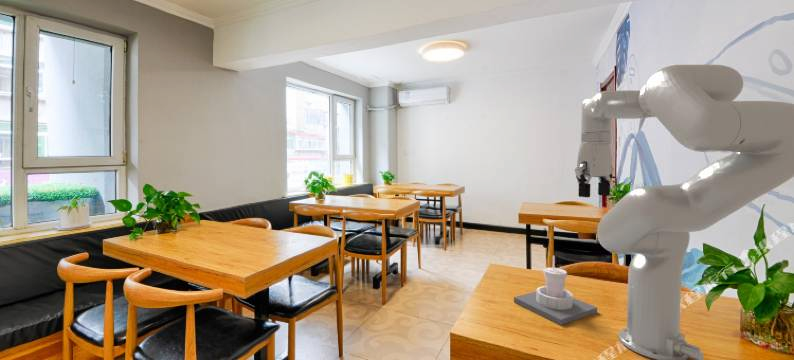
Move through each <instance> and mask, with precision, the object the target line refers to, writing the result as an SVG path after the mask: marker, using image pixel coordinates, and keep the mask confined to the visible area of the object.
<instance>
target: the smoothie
mask: <svg viewBox="0 0 794 360" xmlns="http://www.w3.org/2000/svg"><path fill="white" fill-rule="evenodd" d="M555 264H556V257H555V255H552V267H544V268H543V274H544V281H545V286H546V291H547V296H550V297H555V298H562V297H563V291H564V289H565V284H566V280H567V279H566V278H567V277H568V272H567V271H566V270H564V269H563V268H560V267H556V265H555Z"/></svg>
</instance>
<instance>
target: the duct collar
mask: <svg viewBox="0 0 794 360" xmlns="http://www.w3.org/2000/svg"><path fill="white" fill-rule="evenodd" d="M513 303H515V304H518V305H519V306H521V307H523V308H526V309H527V310H529V311H531V312H533V313H535V314H537V315H539V316H541V317H543V318H545V319H547V320H550V321H551V322H554V323H555V324H557V325H560V326H563V325H566V324H569V323H572V322H574V321H578V320H579V319H580V320H581V319H582V318H586V317H589V316H591V315H594V314H597V313H598V307H597V306H595V305H592V304H590V303H588V302H585V301H582V300H580V299H577V298H576V297H575V298H574V295H573V293H572V292H571V291H569V290H567V289H565V288H564V291H563V297H562V298H555V297H550V296H547V291H546V285H544V286H543V285H542V286H538V287H537V288H536V290H535V291H532V292H529V293H525V294H521V295H518V296H515V297H513Z"/></svg>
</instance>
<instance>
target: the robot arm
mask: <svg viewBox="0 0 794 360" xmlns="http://www.w3.org/2000/svg"><path fill="white" fill-rule="evenodd" d="M743 88H744V78H743V77H742V75H741V73H739V71H737V69H734V68H732V67H731V66H728V65H721V64H674V65H668V66H665V67H662V68H661V69H659V70H657V71H656V72H654V73H653V74H652V75H651V76H649V78H648V80H647V81H646V83H645V84H644V85H643V86H642V88H641V90H629V89H628V90H603V91H600V92H598V93H596V94H595V95H593V96H592V97H589V98H586V99H584V100H583V102H582V103H581V126H580V127H581V133H580V135H581V136H580V141H581V142H580V144H579V148H578V154H577V164H576V167H575V168H574V172H575V175H576V177H575V178H576V179H577V182H576V183H577V184H578V197H581V198H590V197H591V185H592V184H591V183H590V182H591V179H592V178H598V180H599V182H598V184H597V185H598V186H597V187H598V188H597V189H598V190H597V195H598V196H606V197H609V196H610V195H611V182H612V179H613V173H614V171H615V168H614V167H613V166H612V154H611V152H612V151H611V143H612V136H611V135H612V120H614V119H615V120H617V119H620V120H621V119H622V120H623V119H625V120H626V119H627V120H628V119H629V120H630V119H633V120H634V119H635V120H636V119H647V118H657V119H658V121H659V122H660V123H661V124H662V125H663V127H664V128H665V129H666V130H667V131H668V132H669V133H670V135H671V136H672V137H673V139H675V140H676V141H677V142H678V143H679V144H681V145H682V146H683V147H684V148H686V149H688V150H691V151H695V152H698V153H731V154H729V155H726V156H725V157H722V158H720V159H717V160H716V161H714V162H711V163H709V164H707V165H705V167H703V168H701V169H699V171H698V172H697V173H695V174H694V175H693V176H692V177H690V178H688V179H687V180H686V181H684V182H682V183H678V184H672V185H671V184H668V185H666V184H665V185H662V184H661V185H657V184H656V185H644V186H639V187H637V188H634V189H632V190H631V191H629V192H627V193H626V194H625V195H624V196H623V197H621V198H620V199H619V200H618V201H617V202H616V203H615V204H614V205H613V206H612V207H611V208H610V209H609V210H608V211H607V212H606V213H605V214H604V215H603V217H601V218H600V221H599V223H598V225H597V229H596V235H597V240H598V242H599V243H600V245H601V247H603V248H604V249H605V250H606V251H608V252H610V253H613V254H616V255H634V256H633V257H632V259H631V261H630V262H629V263H630V264H629V266H628V275H627V276H628V277H627V305H626V306H627V308H626V310H627V311H626V328H622V329H621V330H619V332H618V340H619V341H620V343H621V344H622V345H624V346H625V347H627V348H628V349H629V350H631V351H632V352H636V353H638V354H639V355H641V356H644V357H647V358H650V359H653V360H688V358H690V359H692V360H704V357H705V356H704V352H702V348H701V347H699V346H696V345H694V344H692V343H691V344H690V343H688V341H686V334H684V333H682V332H680V327H681V325H680V324H681V304H682V303H681V302H682V301H681V299H682V298H681V297H682V285H683V284H682V282H683V281H682V279H683V268H684V267H683V266H684V260H685V257H686V253H687V252H688V247H689V243H690V236H691V235H690V233H692V232H693V233H694V232H701V231H704V230H706V229H708V228H710V227H712V226H714V225H715V224H717V223H719V222H720V221H722V220H723V219H725V218H727V217H728V216H730V215H732V214H733V213H736V212H737V211H738V210H740V209H742V208H744V207H745V206H746V205H748V204H749V203H751V202H753V201H755V200H756V199H758V198H760V197H761V196H764V195H765V194H767V193H769V192H771V191H772V190H775V189H777V188H778V187H780V186H781V185H783V184H785V183H786V182H788V181H790V180H791V179H792V178H794V103H790V102H783V101H775V100H774V101H773V100H736V98H738V97H739V95H740V94H741V93H742V90H743Z"/></svg>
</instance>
